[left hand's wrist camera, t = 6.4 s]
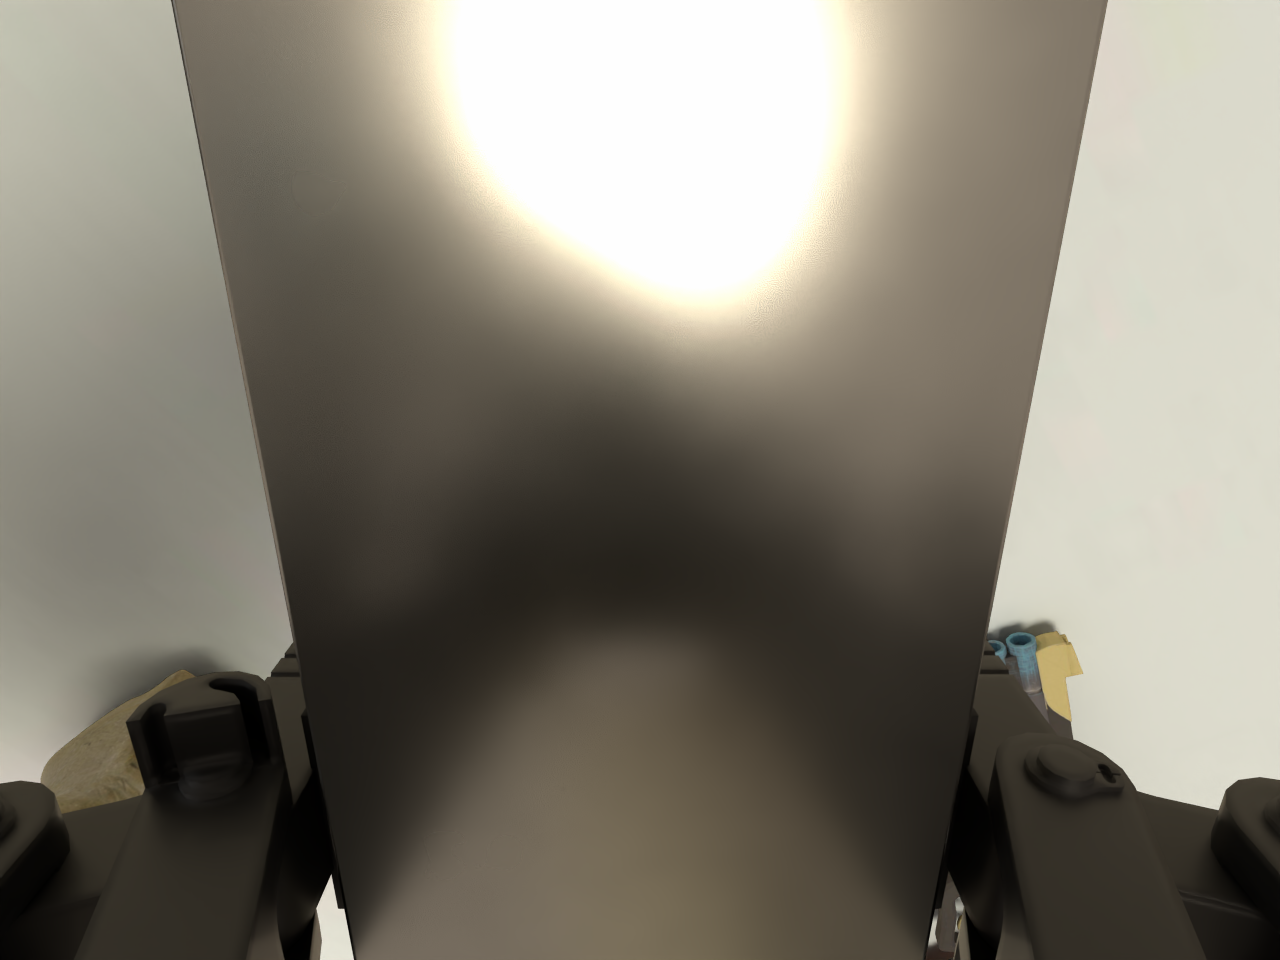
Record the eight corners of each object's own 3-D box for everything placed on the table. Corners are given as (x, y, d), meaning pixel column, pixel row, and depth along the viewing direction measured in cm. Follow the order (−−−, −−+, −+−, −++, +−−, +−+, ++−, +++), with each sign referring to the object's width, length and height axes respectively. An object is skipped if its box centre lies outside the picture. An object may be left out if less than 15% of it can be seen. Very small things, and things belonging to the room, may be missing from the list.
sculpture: (53, 719, 30) (-472, 1209, 16) (186, 626, 28) (-263, 1076, 14) (169, 817, 31) (-211, 1336, 17) (300, 734, 30) (0, 1230, 16)
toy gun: (899, 1073, 33) (1155, 1055, 31) (788, 704, 28) (1088, 649, 26) (889, 1012, 36) (1125, 990, 34) (785, 662, 30) (1058, 609, 28)
